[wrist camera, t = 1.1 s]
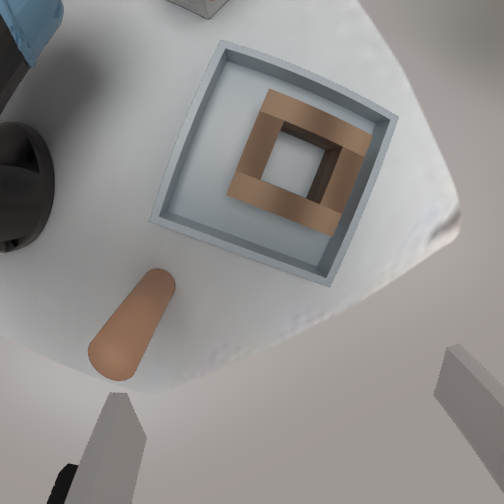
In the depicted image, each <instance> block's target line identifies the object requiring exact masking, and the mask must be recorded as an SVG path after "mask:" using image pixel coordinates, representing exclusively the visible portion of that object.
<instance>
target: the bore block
mask: <svg viewBox="0 0 504 504" xmlns="http://www.w3.org/2000/svg"><path fill="white" fill-rule="evenodd" d="M280 131H282V132H285V133H287V134H289V135H292V136H294V137H297V138H299V139H301V140H304V141H306V142H308V143H311V144H313V145H315V146H317V147H320V148H322V149H324V150H325V152H324V155H323V157H322V160H321V162H320V165H319V167H318V170H317V172H316V175H315V177H314V180H313V182H312V185H311V187H310V190H309V192H308V195H307V197H306V198H304V197H302V196H300V195H297V194H295V193H292V192H290V191H287V190H285V189H283V188H280V187H278V186H275V185H272V184H270V183H267V182H265V181H262V180H261V177H262V175H263V172H264V170H265V167H266V165H267V162H268V160H269V157H270V155H271V152H272V150H273V147H274V145H275V142H276V140H277V137H278V135H279V132H280ZM372 136H373V135H371V134H369V133H367V132H365V131H363V130H361V129H359V128H357V127H355V126H353V125H351V124H349V123H347V122H345V121H343V120H341V119H339V118H337V117H335V116H333V115H331V114H329V113H327V112H324V111H322V110H320V109H318V108H316V107H313V106H311V105H309V104H306V103H304V102H302V101H299V100H297V99H295V98H292V97H290V96H287V95H285V94H282V93H280V92H277V91H275V90H272V89H270V88H269V90H268V92H267V94H266V97H265V99H264V101H263V104H262V106H261V109H260V111H259V113H258V116H257V118H256V121H255V123H254V126H253V128H252V130H251V133H250V135H249V138H248V140H247V143H246V145H245V148H244V150H243V153H242V155H241V158H240V160H239V163H238V165H237V168H236V171H235V173H234V176H233V178H232V181H231V184H230V186H229V189H228V191H227V194H226V196H229V197H232V198H234V199H237V200H240V201H242V202H245V203H248V204H250V205H253V206H255V207H258V208H261V209H263V210H266V211H268V212H271V213H274V214H276V215H279V216H281V217H284V218H286V219H289V220H291V221H294V222H296V223H299V224H301V225H304V226H306V227H309V228H311V229H314V230H316V231H319V232H321V233H324V234H326V235H329V236H331V237H333V234H334V232H335V230H336V227H337V225H338V223H339V220H340V218H341V215H342V213H343V211H344V208H345V206H346V203H347V201H348V198H349V196H350V193H351V191H352V189H353V186H354V184H355V181H356V178H357V176H358V173H359V171H360V168H361V166H362V163H363V160H364V158H365V155H366V152H367V150H368V147H369V144H370V142H371V139H372Z"/></svg>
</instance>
